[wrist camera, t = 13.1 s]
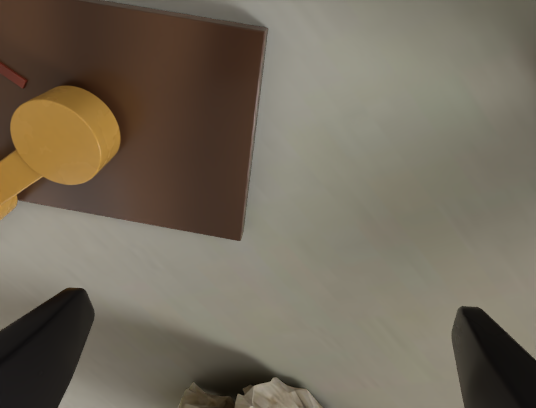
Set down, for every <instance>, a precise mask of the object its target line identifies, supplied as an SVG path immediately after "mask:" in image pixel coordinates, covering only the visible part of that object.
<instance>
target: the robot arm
mask: <svg viewBox="0 0 536 408" xmlns="http://www.w3.org/2000/svg"><path fill="white" fill-rule="evenodd" d="M94 315H95V313H94V308H93V306H92V304H91V301H90V299H89V297H88V294H87V292H86V291H85V290H84V289H82V288H66V289H65V290H63V291H61V292H60V293H58V294H57V295H55V296H54V297H52V298H50V299H49V300H47V301H46V302H44V303H43V304H41V305H40V306H38V307H37V308H35V309H33V310H32V311H30V312H29V313H27V314H26V315H24V316H23V317H21V318H20V319H18V320H16V321H15V322H13V323H12V324H10V325H9V326H7V327H6V328H4V329H3V330H1V331H0V408H58V406H59V404H60V402H61V400H62V398H63V395H64V393H65V391H66V389H67V387H68V385H69V383H70V381H71V379H72V376H73V374H74V372H75V369H76V367H77V364H78V361H79V358H80V356H81V353H82V350H83V348H84V345H85V342H86V340H87V337H88V334H89V331H90V329H91V326H92V323H93V321H94ZM452 344H453V349H454V355H455V360H456V365H457V371H458V376H459V382H460V387H461V392H462V398H463V402H464V407H465V408H536V360H535V359H534V358H533V357H532V356H531V355H530V354H529V353H528V352H527V351H526V350H525V349H523V348H522V347H521V346H520V345H519V344H518V343H517V342H516V341H515V340H514V339H513V338H512V337H511V336H510V335H509V334H508V333H507V332H505V331H504V330H503V329H502V328H501V327H500V326H499V325H498V324H497V323H496V322H495V321H494V320H493V319H492V318H491V317H490V316H489V315H487V314H486V313H485V312H484V311H483V310H482V309H480V308H478V307H466V306H462V307H460V308H459V309H458V311H457V314H456V318H455V321H454V325H453V329H452Z"/></svg>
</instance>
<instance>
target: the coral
mask: <svg viewBox="0 0 536 408" xmlns="http://www.w3.org/2000/svg"><path fill="white" fill-rule="evenodd" d="M243 392H244V394H245V395H244V396H243V395H240V394H237V398H236V402H234V401H233V399H232V398H231V397H230V396H219V395H210V394H207V393H205V392H203V391H202V390H201V389H200V388H199V387H198V386H197V385H196V384H195V383H194V382H193V383H192V384H191V386H190V388H189V389H186V390H185V392H184V394H183V396H182V399H181V402H180V405H179V407H178V408H324V407H322V406H321V405H320V404H319V403H318V402H317V401H316V399H315V398H314V397H313V396H312V395H311V393H310V392H309V391H308V390H307V389H303V388H294V387H290V386H287V385H285V384H284V383H283V382H282V381H280V380H279V379H278V378H277V377H275V378H272V380H271V382H267V383H262V384H258V385H255V386H252V385H249V386H247V387H245V388H243Z"/></svg>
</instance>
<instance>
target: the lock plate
mask: <svg viewBox="0 0 536 408" xmlns="http://www.w3.org/2000/svg"><path fill="white" fill-rule="evenodd" d="M267 34H268V28H266V27H260V26H254V25H248V24H242V23H236V22H230V21H224V20H218V19H212V18H206V17H200V16H194V15H187V14H181V13H175V12H169V11H163V10H157V9H151V8H145V7H139V6H133V5H127V4H121V3H115V2H109V1H103V0H0V161H1V160H2V159H3V158H5V157H6V156H8V155H9V154H10V153H12V152H13V151H14V150H16V148H15V146H14V144H13V141H12V137H11V132H10V122H11V118H12V116H13V113H14V112H15V110H16V109H17V108H18V107H19V106H20V105H21V104H23V103H25V102H26V101H28V100H30V99H32V98H34V97H36V96H38V95H40V94H42V93H44V92H46V91H48V90H50V89H52V88H55V87H58V86H74V87H79V88H82V89H84V90H86V91H89V92H90V93H92V94H94V95H95V96H97V97H98V98H99V99H100V100H102V101H103V102H104V103H105V104H106V105H107V107H108V108H109V109H110V110H111V112H112V113H113V115H114V117H115V119H116V121H117V123H118V126H119V130H120V146H119V149H118V151H117V153H116V155H115V156H114V157H113V158H112V159H111V160H110V161H109V162H108V163H107V164H106V165H105V166H104V167H103V168H102V169H101V170H100V171H99V172H98V173H97V174H96V175H95V176H94V177H93V178H92V179H90V180H89V181H87V182H85V183H82V184H77V185H65V184H60V183H56V182H53V181H51V180H48V179H47V178H45V177H42V178H40V179H39V180H37V181H36V182H34V183H33V184H31V185H30V186H29V187H27V188H26V189H24V190H23V191H21V192H20V193H18V194H17V199H18V200H19V201H25V202H30V203H36V204H41V205H47V206H52V207H57V208H63V209H68V210H74V211H79V212H85V213H90V214H96V215H101V216H106V217H112V218H117V219H123V220H128V221H134V222H139V223H145V224H150V225H155V226H161V227H166V228H172V229H177V230H183V231H188V232H194V233H199V234H204V235H210V236H215V237H221V238H226V239H232V240H237V241H240V240H241V238H242V234H243V230H244V222H245V214H246V206H247V198H248V190H249V181H250V173H251V165H252V157H253V149H254V140H255V132H256V124H257V116H258V108H259V100H260V91H261V83H262V75H263V67H264V59H265V51H266V42H267Z"/></svg>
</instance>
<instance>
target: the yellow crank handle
mask: <svg viewBox="0 0 536 408" xmlns="http://www.w3.org/2000/svg"><path fill="white" fill-rule="evenodd" d="M10 132H11V137H12V141H13V144H14V146H15V148H16V150H14V151H13V152H12V153H10V154H9V155H8V156H6V157H5V158H3V159H2V160H1V161H0V220H1V219H2V218H4V217H5V216H6V215H7V214H8V213H10V212H11V211H12V210H13V209H14V208H15V207H16V205H17V200H18V199H17V194H18V193H20V192H21V191H23V190H24V189H26V188H27V187H29V186H30V185H31V184H33V183H34V182H36V181H37V180H39V179H40V178H42V177H45V178H47V179H48V180H51V181H53V182H56V183H60V184H65V185H77V184H82V183H85V182H87V181H89V180H90V179H92V178H93V177H94V176H95V175H96V174H97V173H98V172H99V171H100V170H101V169H102V168H103V167H104V166H105V165H106V164H107V163H108V162H109V161H110V160H111V159H112V158H113V157H114V156H115V155H116V153H117V151H118V149H119V146H120V130H119V126H118V123H117V121H116V119H115V117H114V115H113V113H112V112H111V110H110V109H109V108H108V107H107V105H106V104H105V103H104V102H103V101H102V100H100V99H99V98H98V97H97V96H95V95H94V94H92V93H90V92H89V91H86V90H84V89H82V88H79V87H74V86H58V87H55V88H52V89H50V90H48V91H46V92H44V93H42V94H40V95H38V96H36V97H34V98H32V99H30V100H28V101H26V102H25V103H23V104H21V105H20V106H19V107H18V108H17V109H16V110H15V112H14V113H13V116H12V118H11V122H10Z"/></svg>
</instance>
